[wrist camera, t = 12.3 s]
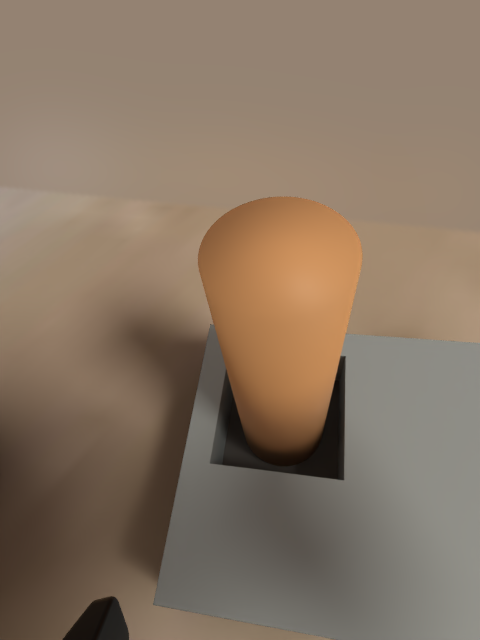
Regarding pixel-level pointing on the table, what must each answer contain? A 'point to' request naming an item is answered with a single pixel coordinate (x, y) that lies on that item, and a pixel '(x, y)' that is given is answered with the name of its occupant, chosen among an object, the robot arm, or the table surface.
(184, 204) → the table surface
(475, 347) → the socket block
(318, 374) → the pin
